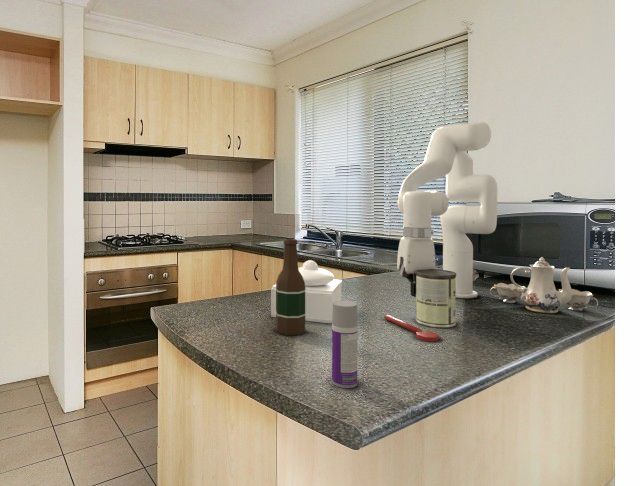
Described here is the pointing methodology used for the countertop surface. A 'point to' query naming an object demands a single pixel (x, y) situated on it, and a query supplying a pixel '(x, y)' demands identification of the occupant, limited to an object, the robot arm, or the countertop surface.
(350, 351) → the container
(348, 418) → the countertop surface
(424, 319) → the coffee can
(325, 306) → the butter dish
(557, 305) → the chinaware
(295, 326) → the beer bottle
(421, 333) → the red spoon
